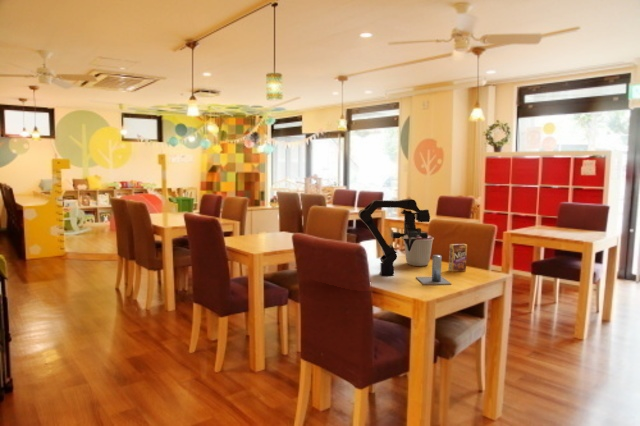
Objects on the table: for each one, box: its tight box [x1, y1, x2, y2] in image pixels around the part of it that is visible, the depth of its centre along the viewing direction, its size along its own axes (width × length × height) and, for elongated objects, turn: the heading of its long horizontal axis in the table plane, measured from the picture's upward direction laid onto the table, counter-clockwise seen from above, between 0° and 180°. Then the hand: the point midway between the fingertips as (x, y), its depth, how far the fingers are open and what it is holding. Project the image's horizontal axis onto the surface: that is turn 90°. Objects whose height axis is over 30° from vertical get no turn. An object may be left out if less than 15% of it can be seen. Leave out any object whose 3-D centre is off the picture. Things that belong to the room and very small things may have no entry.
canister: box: [403, 234, 435, 267], centre depth 266 cm, size 18×18×21 cm
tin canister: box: [431, 254, 443, 282], centre depth 224 cm, size 4×4×13 cm
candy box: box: [448, 243, 468, 272], centre depth 250 cm, size 9×4×15 cm, turn 103°
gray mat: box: [415, 276, 452, 286], centre depth 227 cm, size 14×14×1 cm
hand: (409, 250), depth 240 cm, fingers closed
